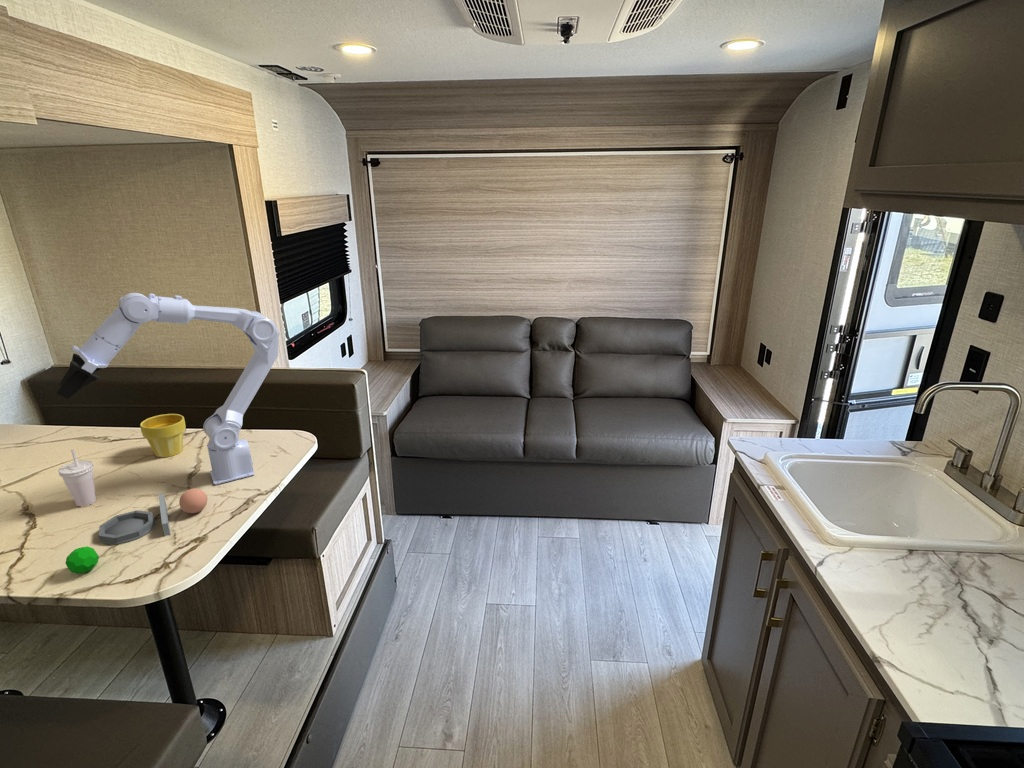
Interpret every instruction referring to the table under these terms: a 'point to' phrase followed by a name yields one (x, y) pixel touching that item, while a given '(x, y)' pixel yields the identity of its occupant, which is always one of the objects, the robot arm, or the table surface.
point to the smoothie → (79, 480)
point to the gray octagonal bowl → (126, 527)
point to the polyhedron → (82, 560)
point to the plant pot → (164, 434)
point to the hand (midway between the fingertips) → (63, 391)
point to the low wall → (164, 515)
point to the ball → (193, 500)
